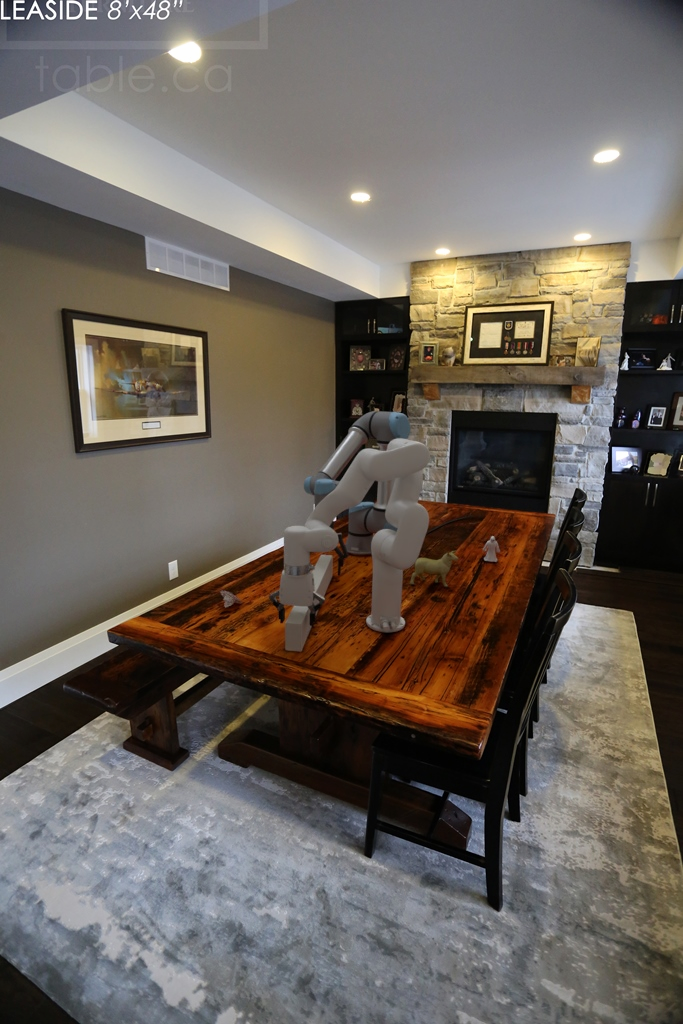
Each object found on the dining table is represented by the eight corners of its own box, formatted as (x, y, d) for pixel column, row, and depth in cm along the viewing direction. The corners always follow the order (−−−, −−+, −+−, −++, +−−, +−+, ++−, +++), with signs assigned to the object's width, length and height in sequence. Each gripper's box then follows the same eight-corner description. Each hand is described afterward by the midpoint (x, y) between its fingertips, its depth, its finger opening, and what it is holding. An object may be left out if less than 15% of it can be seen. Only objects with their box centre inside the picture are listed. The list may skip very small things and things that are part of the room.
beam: (301, 651, 145) (301, 624, 143) (285, 650, 145) (285, 622, 143) (332, 575, 203) (332, 555, 201) (320, 574, 204) (321, 554, 202)
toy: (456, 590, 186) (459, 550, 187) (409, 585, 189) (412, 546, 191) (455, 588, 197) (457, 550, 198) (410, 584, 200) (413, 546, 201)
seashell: (226, 615, 174) (211, 598, 174) (236, 605, 178) (222, 588, 177) (235, 611, 168) (219, 593, 168) (245, 600, 172) (230, 583, 171)
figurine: (481, 562, 222) (483, 536, 219) (482, 556, 230) (484, 531, 227) (499, 564, 220) (501, 538, 217) (499, 558, 228) (501, 533, 225)
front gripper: (328, 565, 149) (327, 619, 153) (271, 562, 151) (272, 615, 155) (324, 574, 141) (323, 630, 146) (264, 570, 144) (265, 626, 148)
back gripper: (356, 519, 193) (355, 571, 198) (295, 515, 196) (295, 567, 201) (354, 524, 186) (353, 578, 191) (291, 520, 189) (291, 574, 194)
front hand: (297, 622), depth 150 cm, fingers open, 8 cm apart
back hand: (323, 573), depth 196 cm, fingers open, 12 cm apart
